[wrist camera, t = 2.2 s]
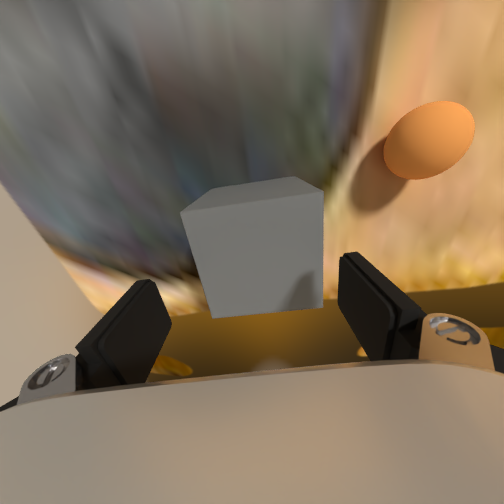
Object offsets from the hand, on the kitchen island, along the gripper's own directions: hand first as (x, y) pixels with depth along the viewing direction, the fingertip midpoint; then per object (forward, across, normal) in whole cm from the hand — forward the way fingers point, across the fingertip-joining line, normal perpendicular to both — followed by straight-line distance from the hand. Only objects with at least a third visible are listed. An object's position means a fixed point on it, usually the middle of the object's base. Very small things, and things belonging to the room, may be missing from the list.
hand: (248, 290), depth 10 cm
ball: (+8, -14, -5) cm, 17 cm away
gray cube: (+11, -1, 0) cm, 11 cm away
